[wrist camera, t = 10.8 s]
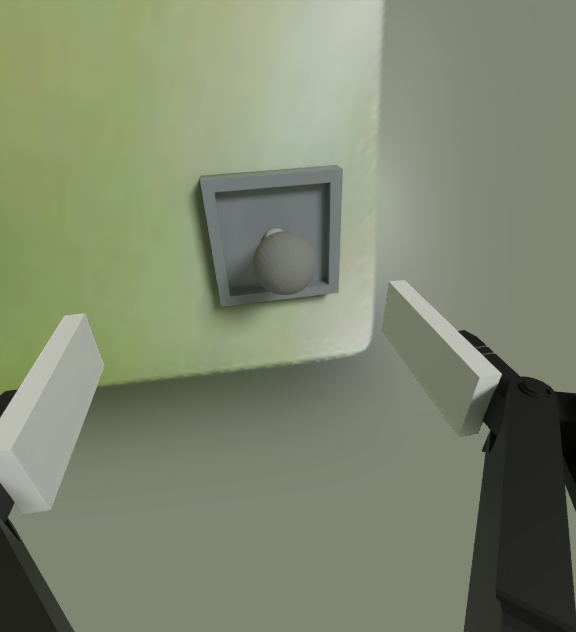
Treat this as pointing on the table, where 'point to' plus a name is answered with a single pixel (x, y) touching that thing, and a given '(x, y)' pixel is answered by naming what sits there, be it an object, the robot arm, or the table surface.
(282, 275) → the grey light bulb
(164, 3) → the table surface
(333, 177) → the dish
